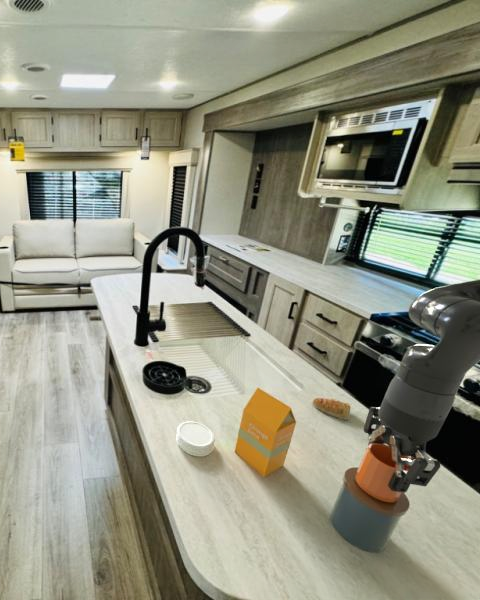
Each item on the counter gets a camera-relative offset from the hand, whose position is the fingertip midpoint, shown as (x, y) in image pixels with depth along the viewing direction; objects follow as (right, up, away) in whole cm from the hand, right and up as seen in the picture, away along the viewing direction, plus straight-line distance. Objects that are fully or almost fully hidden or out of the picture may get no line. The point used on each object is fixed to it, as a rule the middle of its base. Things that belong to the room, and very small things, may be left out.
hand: (382, 473), depth 60 cm
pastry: (+22, -2, +39) cm, 44 cm away
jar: (0, -15, +6) cm, 16 cm away
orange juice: (-11, -9, +23) cm, 27 cm away
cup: (0, -3, +1) cm, 4 cm away
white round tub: (-26, -7, +28) cm, 39 cm away
